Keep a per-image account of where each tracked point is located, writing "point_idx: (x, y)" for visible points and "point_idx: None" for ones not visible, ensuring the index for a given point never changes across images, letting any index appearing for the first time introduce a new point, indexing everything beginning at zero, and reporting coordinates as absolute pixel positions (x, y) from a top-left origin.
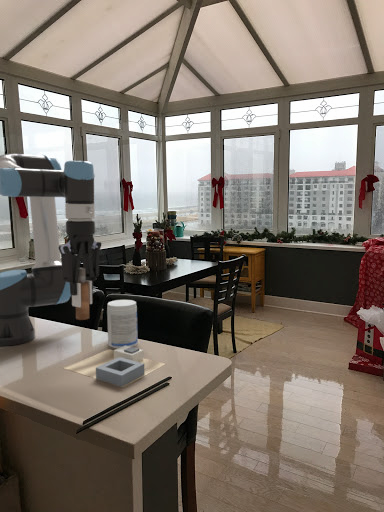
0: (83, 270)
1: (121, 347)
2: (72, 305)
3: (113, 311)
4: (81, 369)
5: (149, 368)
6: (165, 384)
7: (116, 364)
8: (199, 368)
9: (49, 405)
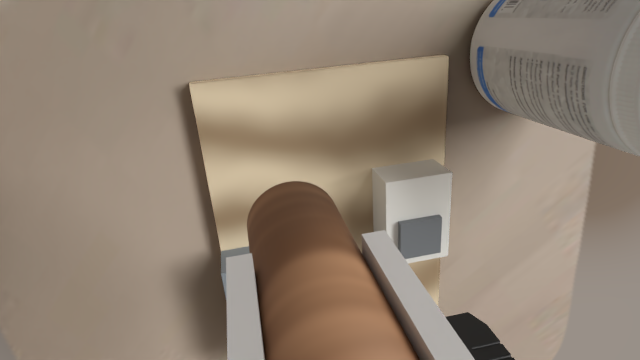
0: None
1: (426, 180)
2: (226, 263)
3: (606, 89)
4: (233, 151)
5: None
6: None
7: None
8: None
9: (11, 278)
